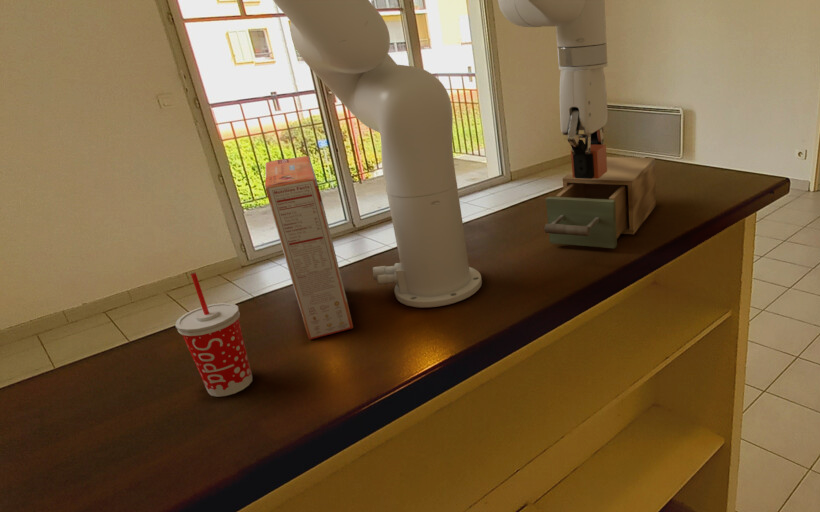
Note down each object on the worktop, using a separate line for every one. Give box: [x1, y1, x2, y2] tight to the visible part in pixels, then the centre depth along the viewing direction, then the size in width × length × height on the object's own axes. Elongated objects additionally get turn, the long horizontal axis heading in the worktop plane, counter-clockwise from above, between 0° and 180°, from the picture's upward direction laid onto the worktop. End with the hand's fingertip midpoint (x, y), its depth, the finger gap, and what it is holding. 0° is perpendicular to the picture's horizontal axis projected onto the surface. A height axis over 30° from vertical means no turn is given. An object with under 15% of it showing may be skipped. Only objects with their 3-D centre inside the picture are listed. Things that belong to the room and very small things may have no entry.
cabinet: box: [562, 156, 657, 235], centre depth 113 cm, size 16×13×10 cm
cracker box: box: [264, 155, 354, 340], centre depth 81 cm, size 14×6×21 cm, turn 25°
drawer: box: [544, 183, 629, 249], centre depth 102 cm, size 21×11×8 cm, turn 159°
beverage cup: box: [174, 272, 253, 398], centre depth 67 cm, size 6×6×14 cm
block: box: [570, 144, 607, 179], centre depth 100 cm, size 4×4×4 cm
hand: (589, 172), depth 101 cm, fingers closed on block, 4 cm apart
